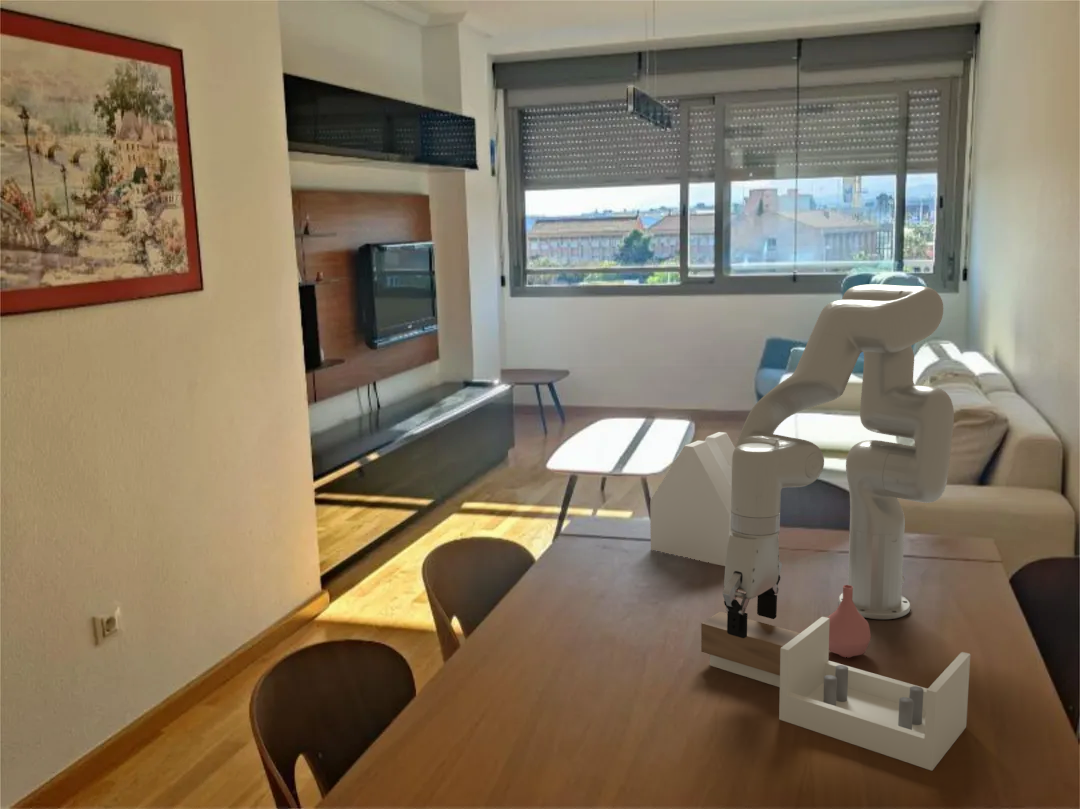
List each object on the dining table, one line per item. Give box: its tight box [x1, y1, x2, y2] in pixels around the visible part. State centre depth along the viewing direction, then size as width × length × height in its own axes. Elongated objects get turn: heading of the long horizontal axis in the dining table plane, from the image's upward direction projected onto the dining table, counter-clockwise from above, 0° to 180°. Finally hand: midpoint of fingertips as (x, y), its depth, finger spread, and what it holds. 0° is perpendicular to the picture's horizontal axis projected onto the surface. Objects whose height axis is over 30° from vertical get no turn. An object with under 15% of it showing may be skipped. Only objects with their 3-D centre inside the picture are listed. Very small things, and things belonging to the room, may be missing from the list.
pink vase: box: [826, 584, 872, 658], centre depth 161 cm, size 8×8×12 cm
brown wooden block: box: [700, 610, 801, 676], centre depth 156 cm, size 6×16×5 cm, turn 50°
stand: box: [778, 616, 971, 771], centre depth 139 cm, size 14×22×11 cm, turn 50°
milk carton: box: [649, 431, 736, 567], centre depth 213 cm, size 19×15×25 cm
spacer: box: [709, 654, 780, 688], centre depth 157 cm, size 4×14×2 cm, turn 50°
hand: (752, 625), depth 155 cm, fingers open, 9 cm apart
